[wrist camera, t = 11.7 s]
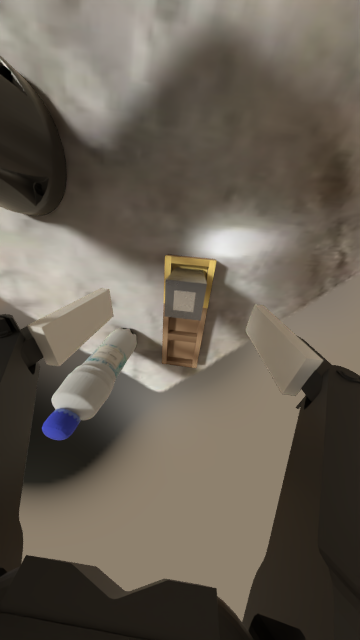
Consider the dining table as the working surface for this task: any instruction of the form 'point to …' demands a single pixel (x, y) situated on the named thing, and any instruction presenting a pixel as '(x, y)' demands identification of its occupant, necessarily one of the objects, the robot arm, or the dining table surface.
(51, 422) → the bottle
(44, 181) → the robot arm
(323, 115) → the dining table surface
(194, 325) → the wooden compartment tray
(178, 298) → the block
